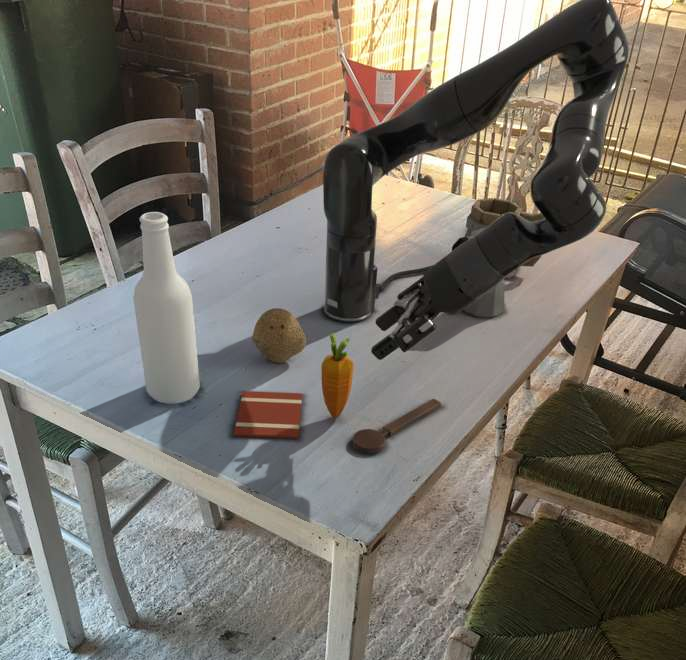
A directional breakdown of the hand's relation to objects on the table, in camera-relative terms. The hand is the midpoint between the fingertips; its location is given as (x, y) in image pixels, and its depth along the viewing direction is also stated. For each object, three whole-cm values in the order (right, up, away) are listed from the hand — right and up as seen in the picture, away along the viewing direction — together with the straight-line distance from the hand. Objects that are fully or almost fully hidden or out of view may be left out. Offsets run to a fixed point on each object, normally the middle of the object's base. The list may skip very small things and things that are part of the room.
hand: (377, 340), depth 114 cm
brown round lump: (-17, 0, +23) cm, 29 cm away
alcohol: (-34, -6, +14) cm, 37 cm away
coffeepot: (+22, +13, +42) cm, 50 cm away
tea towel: (-17, -11, +10) cm, 22 cm away
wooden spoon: (+3, -13, +8) cm, 16 cm away
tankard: (+31, +24, +57) cm, 69 cm away
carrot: (-6, -11, +10) cm, 16 cm away
